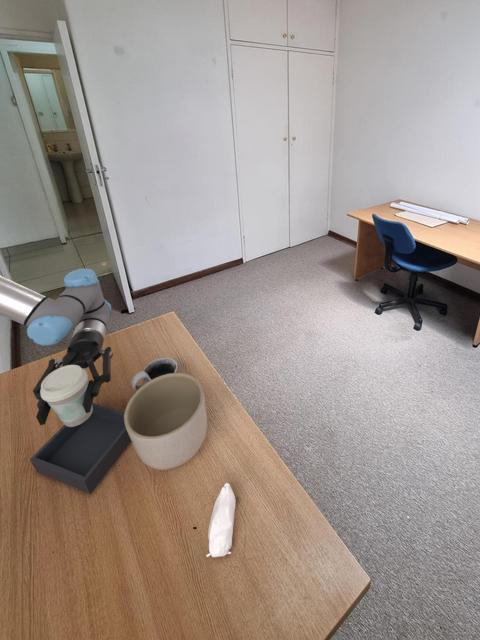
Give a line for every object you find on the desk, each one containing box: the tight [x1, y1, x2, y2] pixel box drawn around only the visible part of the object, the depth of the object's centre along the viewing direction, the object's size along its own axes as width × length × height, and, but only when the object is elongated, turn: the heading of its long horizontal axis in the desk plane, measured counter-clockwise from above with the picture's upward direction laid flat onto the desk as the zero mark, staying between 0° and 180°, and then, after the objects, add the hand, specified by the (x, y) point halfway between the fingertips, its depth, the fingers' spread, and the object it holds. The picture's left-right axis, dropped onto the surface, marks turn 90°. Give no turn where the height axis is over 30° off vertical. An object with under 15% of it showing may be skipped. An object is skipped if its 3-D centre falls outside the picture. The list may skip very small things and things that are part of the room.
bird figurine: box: [205, 482, 237, 558], centre depth 65 cm, size 5×7×10 cm
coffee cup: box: [40, 365, 93, 427], centre depth 72 cm, size 8×8×12 cm
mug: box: [130, 357, 179, 392], centre depth 93 cm, size 10×12×10 cm
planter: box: [124, 372, 208, 471], centre depth 78 cm, size 17×17×15 cm
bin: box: [29, 401, 132, 495], centre depth 79 cm, size 16×16×5 cm
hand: (63, 414), depth 68 cm, fingers closed on coffee cup, 8 cm apart
